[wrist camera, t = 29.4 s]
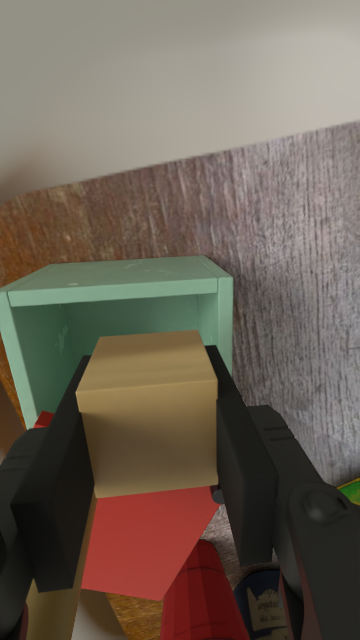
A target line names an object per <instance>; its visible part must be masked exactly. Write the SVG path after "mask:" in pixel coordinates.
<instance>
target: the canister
mask: <svg viewBox="0 0 360 640" xmlns="http://www.w3.org/2000/svg"><path fill="white" fill-rule="evenodd" d="M279 579H280V570H267V571H261V572H258V573H255V574H253V575H250V576H248V577H247V578H245V579H244V580H242V581H241V582H240V583H239V584H238V585H237V587H236V588H235V590H234V591H233V594H234V597H235V600H236V603H237V605H238V608H239V611H240V614H241V616H242V619H243V622H244V625H245V627H246V630H247V633H248V636H249V638H250V640H289V634H288V628H287V623H286V617H285V611H284V606H283V608H281V607H278V588H279Z"/></svg>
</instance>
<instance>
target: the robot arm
mask: <svg viewBox="0 0 360 640" xmlns="http://www.w3.org/2000/svg"><path fill="white" fill-rule="evenodd" d="M204 347H205V349H206V352H207V354H208V357H209V359H210V362H211V364H212V367H213V369H214V372H215V374H216V377H217V379H218V399H216V459H217V475H218V479H219V483H220V486H221V490H222V494H223V498H224V502H225V506H226V510H227V514H228V518H229V522H230V526H231V530H232V534H233V538H234V542H235V546H236V550H237V554H238V558H239V562H240V566H245V565H253V564H260V563H268V562H272V553H273V548H274V551H275V554H276V556H277V559H278V562H279V564H280V567H281V569H280V579H279V588H278V607H281V608H283V606H284V611H285V617H286V623H287V628H288V634H289V640H360V505H356V504H354V503H352V502H351V501H350V500H349V498H348V497H347V496H345V495H344V494H343V493H342V492H341V491H339V490H338V489H337V488H335V487H333V486H331V485H329V484H327V483H325V482H324V481H323V480H322V478H321V477H320V475H319V474H318V472H317V471H316V469H315V468H314V466H313V464H312V463H311V461H310V460H309V458H308V457H307V455H306V454H305V452H304V450H303V449H302V447H301V446H300V444H299V443H298V441H297V440H296V439H295V438H294V435H293V433H292V432H291V430H290V429H288V426H287V424H286V422H285V421H284V419H283V418H282V416H281V415H280V414H279V413H278V412H277V411H275V410H274V409H273V408H271V407H270V406H269V405H259V406H249V407H246V406H245V403H244V401H243V399H242V397H241V395H240V393H239V391H238V389H237V387H236V385H235V383H234V381H233V379H232V377H231V375H230V373H229V371H228V369H227V367H226V365H225V363H224V361H223V359H222V357H221V355H220V353H219V350H218V348H217V346H216V345H206V346H204ZM91 356H92V355H83V357H82V359H81V361H80V363H79V365H78V367H77V369H76V371H75V373H74V375H73V377H72V379H71V381H70V383H69V385H68V387H67V389H66V391H65V393H64V395H63V397H62V399H61V401H60V403H59V405H58V407H57V409H56V411H55V413H54V415H53V417H52V420H51V422H50V424H49V426H48V427H40V428H30V429H28V430H27V431H26V432H25V433H24V434H23V435H21V436H20V437H19V438H18V439H17V440H16V441H15V442H14V444H13V445H12V447H11V448H10V450H9V452H8V453H7V455H6V459H4V460H3V462H2V464H1V465H0V640H26V637H27V630H28V623H29V611H28V606H27V603H26V599H27V596H28V593H29V590H30V587H31V584H32V581H33V578H34V581H35V584H36V587H37V590H38V593H42V592H50V591H57V590H65V589H72V588H73V585H74V580H75V575H76V570H77V566H78V561H79V556H80V552H81V547H82V542H83V538H84V533H85V528H86V523H87V519H88V514H89V509H90V505H91V500H92V495H93V490H94V486H95V482H94V477H93V472H92V466H91V461H90V456H89V451H88V445H87V440H86V435H85V430H84V424H83V419H82V414H81V412H79V407H78V402H77V397H76V391H77V388H78V386H79V384H80V381H81V379H82V377H83V374H84V372H85V370H86V368H87V365H88V363H89V361H90V358H91Z"/></svg>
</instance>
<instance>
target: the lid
mask: <svg viewBox="0 0 360 640" xmlns="http://www.w3.org/2000/svg"><path fill="white" fill-rule="evenodd" d="M53 415H54V413H51V412H47V411H44V410H43V411H42V412H41V413H40V415H39V417H38V419H37V420H36V422H35V424H34V427H33V428H40V427H48V426H49V424H50V422H51V420H52V417H53ZM220 504H225V502H224V498H223V494H222V490H221V486H220V483H219V479H218V484H217V485H211V486H202V487H194V488H185V489H176V490H167V491H158V492H149V493H140V494H131V495H122V496H113V497H104V498H96V496H95V490H93V495H92V500H91V505H90V509H89V514H88V519H87V523H86V528H85V533H84V538H83V542H82V547H81V552H80V556H79V561H78V566H77V570H76V575H75V580H74V585H73V588H72V589H65V590H57V591H50V592H42V593H38V590H37V587H36V584H35V581H34V578H33V581H32V584H31V587H30V590H29V593H28V596H27V599H26V603H27V606H28V611H29V623H28V630H27V637H26V640H71V637H72V632H73V627H74V622H75V616H76V611H77V606H78V601H79V595H80V590H81V588H83V589H90V590H97V591H102V592H108V593H114V594H121V595H127V596H133V597H139V598H146V599H152V600H158V601H161V600H162V599H163V597H164V595H165V594H166V592H167V590H168V589H169V587H170V586H171V584H172V582H173V581H174V579H175V577H176V576H177V574H178V573H179V571H180V569H181V568H182V566H183V564H184V563H185V561H186V560H187V558H188V556H189V555H190V553H191V551H192V550H193V548H194V547H195V545H196V543H197V542H198V540H199V538H200V537H201V535H202V534H203V532H204V530H205V529H206V527H207V525H208V524H209V522H210V521H211V519H212V517H213V516H214V514H215V512H216V511H217V509H218V508H219V506H220Z"/></svg>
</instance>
